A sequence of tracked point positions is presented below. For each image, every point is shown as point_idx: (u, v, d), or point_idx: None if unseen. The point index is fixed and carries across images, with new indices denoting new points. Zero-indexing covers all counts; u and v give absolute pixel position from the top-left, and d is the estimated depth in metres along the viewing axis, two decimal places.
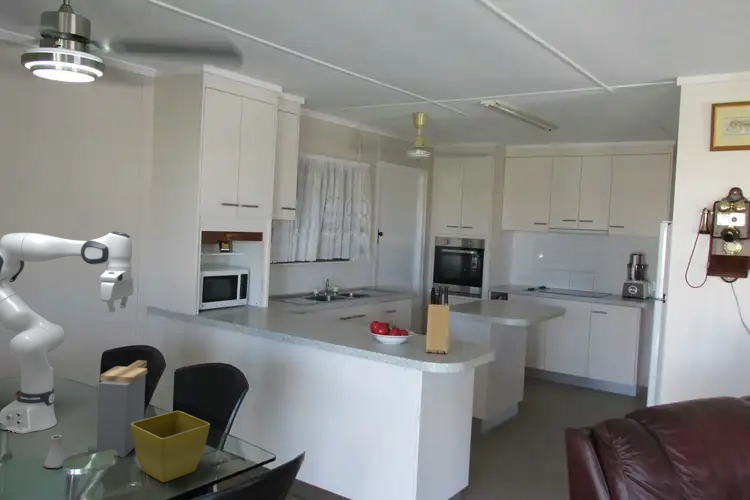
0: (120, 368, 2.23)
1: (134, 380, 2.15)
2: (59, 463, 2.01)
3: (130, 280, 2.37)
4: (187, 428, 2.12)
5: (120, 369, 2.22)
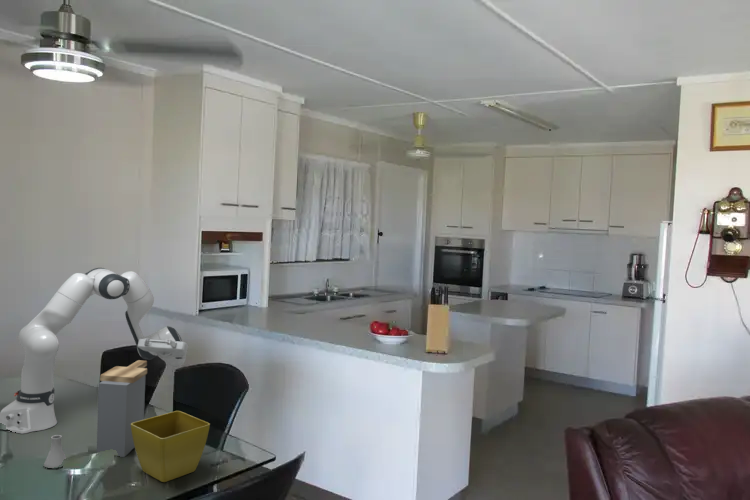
0: (120, 368, 2.23)
1: (134, 380, 2.15)
2: (59, 463, 2.01)
3: (149, 351, 2.59)
4: (187, 428, 2.12)
5: (120, 369, 2.22)
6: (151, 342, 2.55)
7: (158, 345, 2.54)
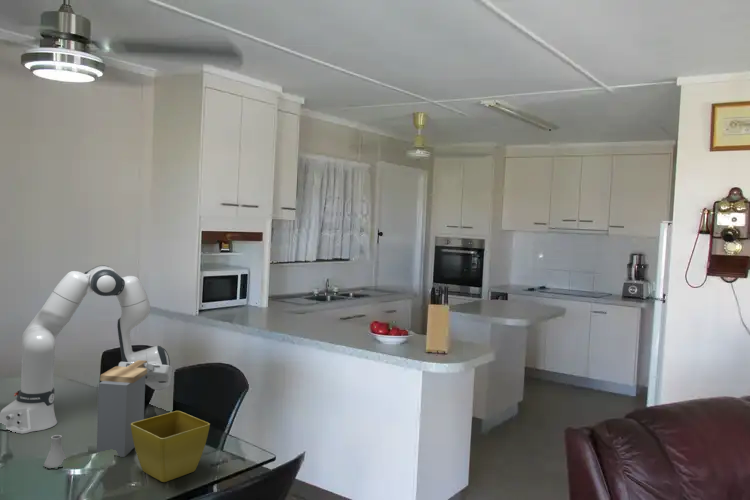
0: (120, 368, 2.23)
1: (134, 380, 2.15)
2: (59, 463, 2.01)
3: None
4: (187, 428, 2.12)
5: (120, 369, 2.22)
6: None
7: None
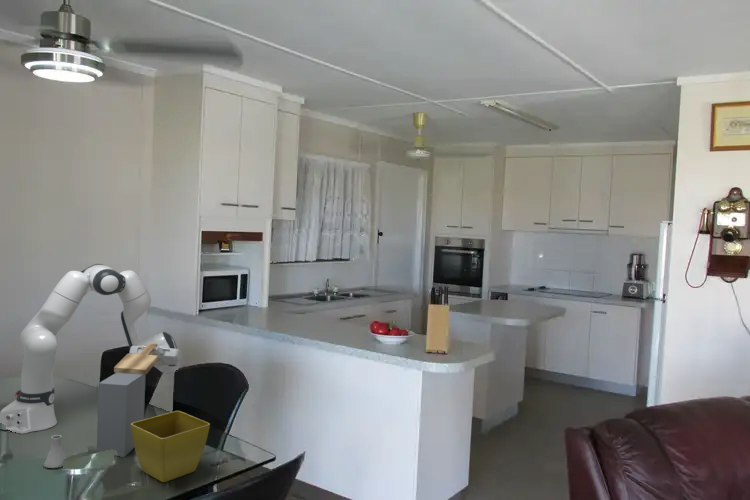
0: (132, 356, 2.33)
1: (146, 371, 2.25)
2: (59, 463, 2.01)
3: None
4: (187, 428, 2.12)
5: (132, 358, 2.32)
6: None
7: None
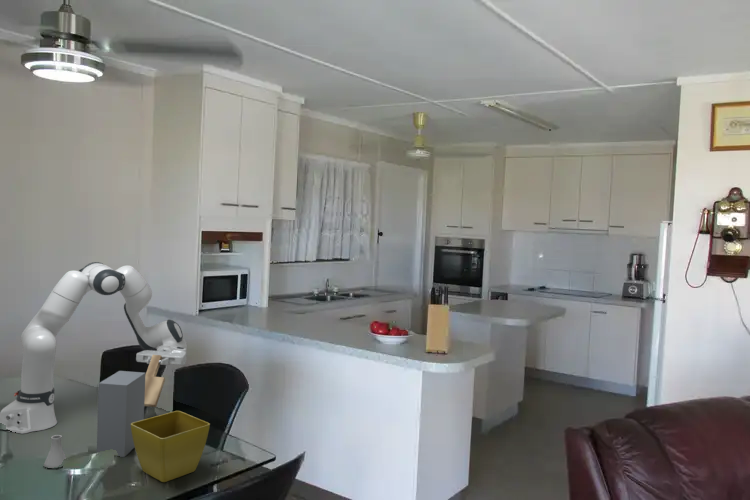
0: None
1: (156, 404, 2.38)
2: (59, 463, 2.01)
3: None
4: (187, 428, 2.12)
5: None
6: (149, 357, 2.54)
7: None
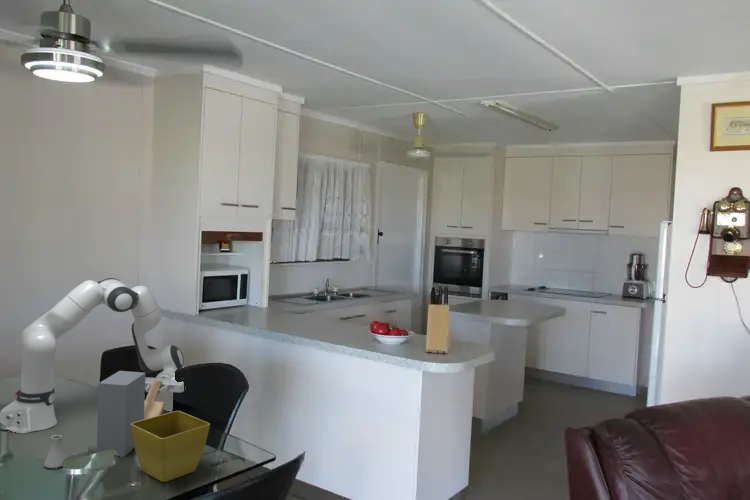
0: None
1: None
2: (59, 463, 2.01)
3: None
4: (187, 428, 2.12)
5: None
6: None
7: None
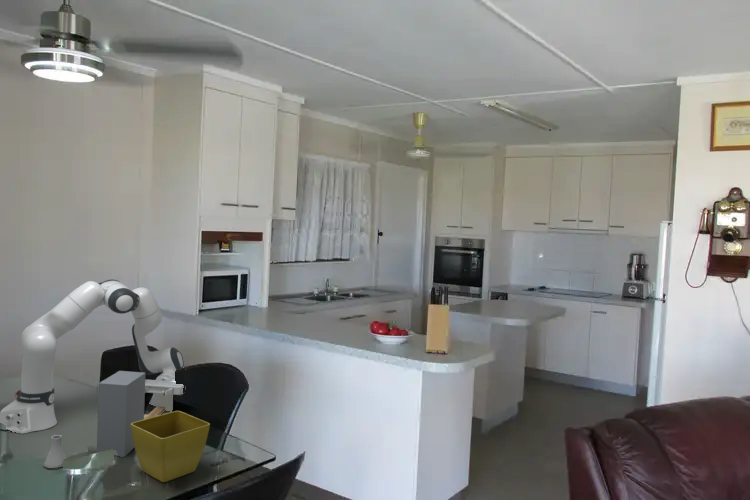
0: None
1: None
2: (59, 463, 2.01)
3: None
4: (187, 428, 2.12)
5: None
6: (148, 387, 2.55)
7: (155, 389, 2.55)
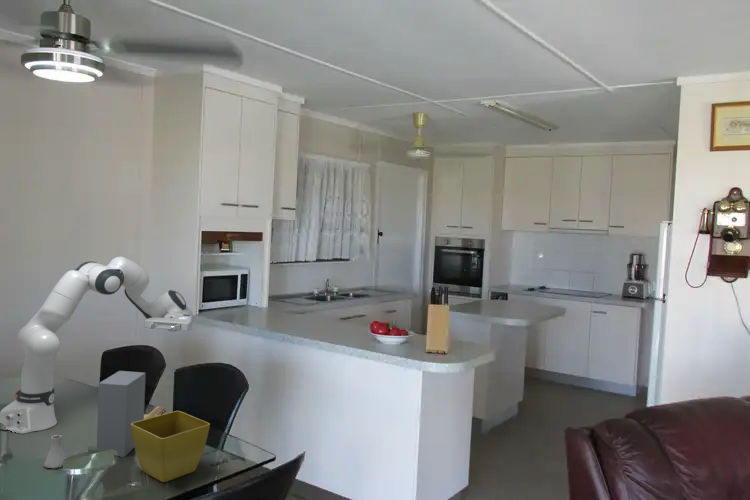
0: None
1: None
2: (59, 463, 2.01)
3: None
4: (187, 428, 2.12)
5: None
6: (156, 323, 2.65)
7: (164, 326, 2.65)
